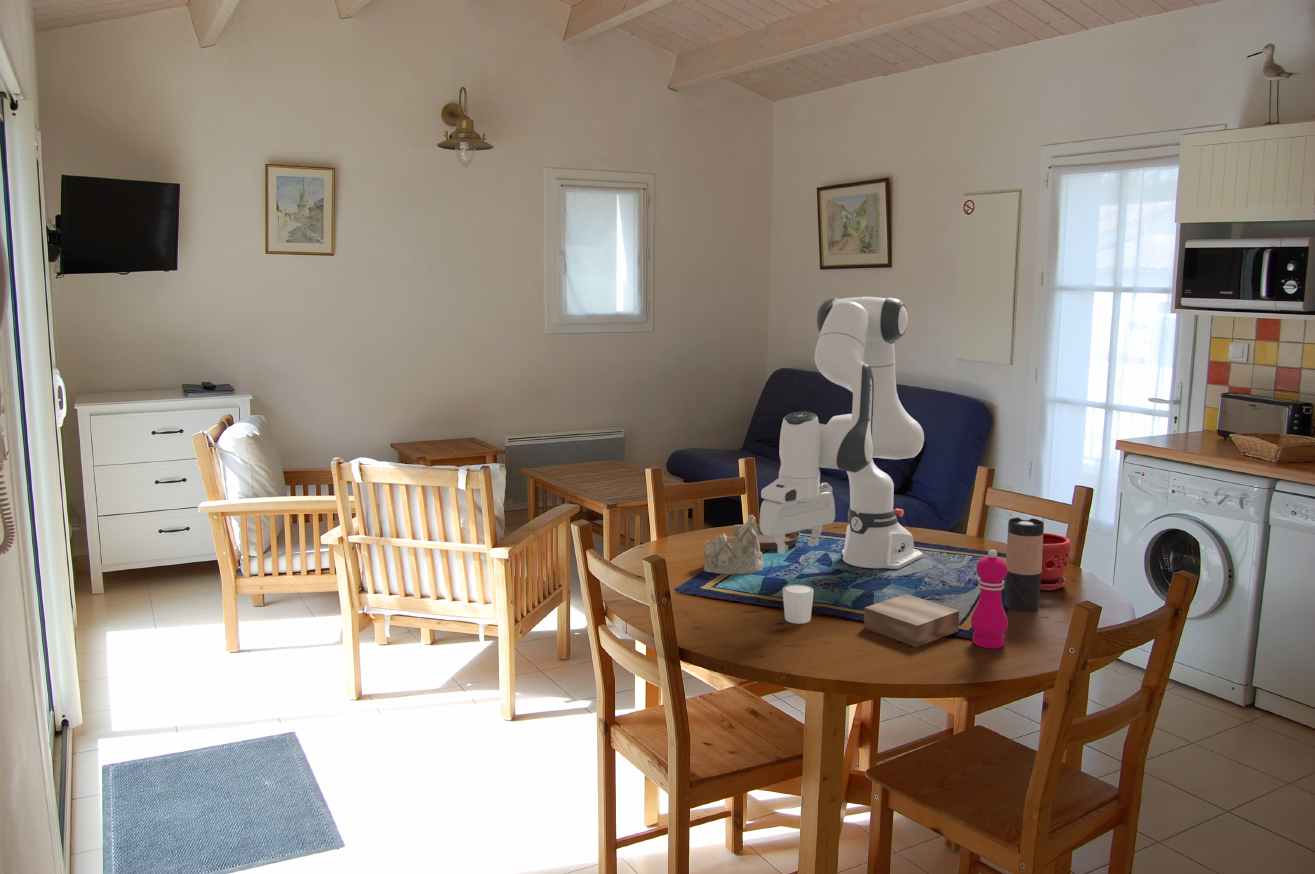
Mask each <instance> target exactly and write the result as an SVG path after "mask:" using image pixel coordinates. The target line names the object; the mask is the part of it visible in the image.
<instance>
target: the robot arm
mask: <svg viewBox="0 0 1315 874" xmlns="http://www.w3.org/2000/svg"><path fill="white" fill-rule="evenodd" d="M816 316H817V317H816V325H817V326H816V327H817V331H818V332H819V336H818V339H817V343H816V345H815V346H816V347H815V351H814V362H815V366H816V368H817V370H818V371H819V373H820V374H821V375H822V376H823V377H824V378H826V379H827V380H828V381H830V382H831V383H834V384H835V385H837V386H841V387H843V388H845V389H847V390H848V391H850V392H852V408H851V409H852V410H851V413H847V414H840V415H839V414H838V415H834V416H832V417H831V418H830V419H829V421H828V422H827V423H825V424H824V423H820V422H819V418H818V416H817V414H816V413H813V412H810V411H797V412H791V413H789V414H787V415H785V416H784V417H783V419H782V423H781V428H780V434H779V435H780V436H779V446H778V447H779V451H778V454H779V459H780V467H779V471H778V478H776V479H775V480H774V481H773V482H772V483H770V484H768V485H766V486H765V487H763V488H762V489H761V492H760V496H761V498H762V499H764V500H763V501H762V502H761V506H760V509H759V526H760V530H761V532H762V533H763V534H764V535H767V536H771V537H774V540H775V542H776V543H777V545H778V549H777V553H778V554H781V555H784V554H788V552H789V547H788V545H785V543H784V540H783V539H785V534H788V533H792V532H796V531H799V532H800V531H805V530H809V529H811V530H812V531H811V534H810V537H807V545H808V546H809V547H817V546H819V538H820V536H821V534H822V533H823V526H825V525H831V524H833V523H834V521H835V518H836V509H835V508H836V506H835V498H834V495H833V487H832V485H830V484H829V483H828V482H822V483H821V481H820V480H821V471H820V468H824V469H825V468H826V469H832V470H833V469H835V470H839V471H845V472H846V473H847V476H848V481H849V492H850V493H849V496H850V497H849V505H850V506H849V507H848V512H847V521H848V525H846V526H847V527H846V532H845V540H844V548H843V549H842V550H841V555H842V560H843V562H845V563H846V564H848V565H850V566H853V567H854V566H855V567H858V568H865V569H866V568H867V569H890V570H898V569H901V568H903V567H905V566H906V565H908V564H911V563H913V562H916V561H917V560H919V559H921V558H923V557H924V555H923V552H921V551H920V550H918V549H915V546H914V545H915V543H914V542H915V541H914V537H913V534H912V533H911V532H910V531H908V530H907V529H906V528H905V527H903V525H901V524H900V523H899V522H898V518H899V517H900V518H901V517H904V514H905V512H904V510H903V509H902V508H895V509H894V488H895V484H894V482H893V479H892V477H891V476H890V475H889V474H888V473H886V472H884V471H883V470H882V469H880V468H879V467H878V466H877V465H876V464H875V463H874V459H873V458H876V459H877V458H878V459H886V460H887V459H888V460H903V459H905V460H906V459H911V458H913V459H914V458H915V457H916V456H917V455H918V454H919V453H920V452H921V451H922V448H923V446H924V442H925V433H924V430H923V428H922V426H921V424H920V423H919V422H918V421H917V420H916V419H914V418H913V417H912V416H911V415H910V414H909V413H908V412H907V411H906V410H905V408H904V406H903V405H902V403H901V400H900V399H899V395H898V391H897V380H896V350H895V342H896V341H898V340H900V339H901V338H902V337H903V336H904V335H905V332H906V329H907V327H908V321H909V318H908V316H909V315H908V311H907V306H906V305H905V304H904V303H903V301H902V300H901V299H898V298H893V297H886V298H885V297H879V296H878V297H877V296H861V297H857V296H856V297H845V298H839V297H835V298H830V299H827V300H825V301H823V303H821V304H820V306H819V308H818V310H817V315H816ZM897 517H898V518H897Z"/></svg>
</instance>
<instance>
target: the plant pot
mask: <svg viewBox="0 0 1315 874" xmlns="http://www.w3.org/2000/svg"><path fill="white" fill-rule="evenodd" d="M1070 553H1071V541H1070V538H1068V537H1066V536H1065V535H1060V534H1057V533H1050V532H1049V533H1048V532H1043V550H1042V572H1041V583H1040V591H1056V590H1058V589H1060V588H1062V587H1064V586H1065V584H1067V583H1066V582H1067V579H1066V577H1064V574H1065V573H1066V570H1067V567H1068V565H1069V558H1070V557H1069V556H1070Z"/></svg>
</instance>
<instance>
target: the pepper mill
mask: <svg viewBox="0 0 1315 874" xmlns="http://www.w3.org/2000/svg"><path fill="white" fill-rule="evenodd" d="M987 555H988V556H984V557H982V558H980V559H979V560H978V561H977V564H976V574H977V575H978V576H979V578H978V579H977V580H978V584H977V586H978V587H979V588H980V593H979V599H978V601H977V605H976V607H975V608H974V610H973V612H972V615H971V618H970V625H971V627H972V628H973V630H974V632H973V633H972V643H973V644H974V645H976V646H978V647H981V648H984V649H1000V648H1002V647H1003V648H1004V646H1005V639H1006V637H1005V635H1004V633H1005V632H1006V631H1007V629H1008V627H1009V622H1008V616H1007V613H1006V611H1005V609H1004V606H1003V602H1002V601H1003V600H1002V590H1004V588H1005V577H1006V575H1007V565H1006V561H1004V560H1003V559H1002V558H1000V557H998V552H997V550H996V549H989V550H988V551H987Z"/></svg>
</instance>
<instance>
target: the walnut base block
mask: <svg viewBox="0 0 1315 874" xmlns="http://www.w3.org/2000/svg"><path fill="white" fill-rule="evenodd" d="M863 611H864V613H863V614H864V616H863V617H864V618H863V628H864V629H866V630H868V631H871V632H874V633H877V634H879V635H882V636H886V637H888V638H889V639H893V640H896V641H899V642H902V643H904V644H907V645H909V646H912V647H915V648H918V647H921V646H924V645H926V644H929V643H932V642H934V641H937V640H939V639H942V638H945V637H947V636H950V635H952V634H955V633H958V632H959V628H960V627H959V626H960V625H959V623H960V622H959V621H960V610H958V609H955V608H951V607H948V606H946V605H942V604H939V603H935V602H932V601H929V600H928V599H927V600H926V599H924V598H920V597H918V596H914V595H911V594H907V593H905V594H902V595H898V596H895V597H893V598H889V599H887V600H883V601H880V602H878V603H874V604H871V605H868V606H865V607H864V608H863Z"/></svg>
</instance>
